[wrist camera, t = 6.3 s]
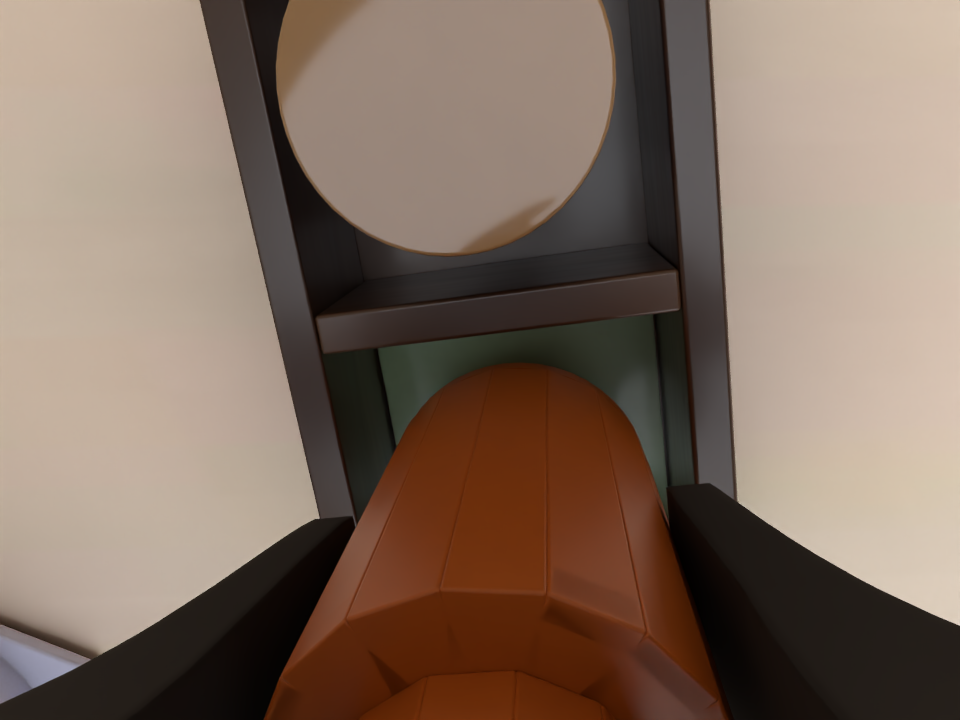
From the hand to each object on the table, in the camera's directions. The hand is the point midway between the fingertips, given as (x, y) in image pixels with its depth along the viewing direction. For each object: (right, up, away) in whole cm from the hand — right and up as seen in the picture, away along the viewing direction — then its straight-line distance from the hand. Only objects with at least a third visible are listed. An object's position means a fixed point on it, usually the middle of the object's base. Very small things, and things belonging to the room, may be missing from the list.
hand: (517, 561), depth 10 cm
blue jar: (-1, +8, +3) cm, 9 cm away
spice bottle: (0, +1, +3) cm, 3 cm away
